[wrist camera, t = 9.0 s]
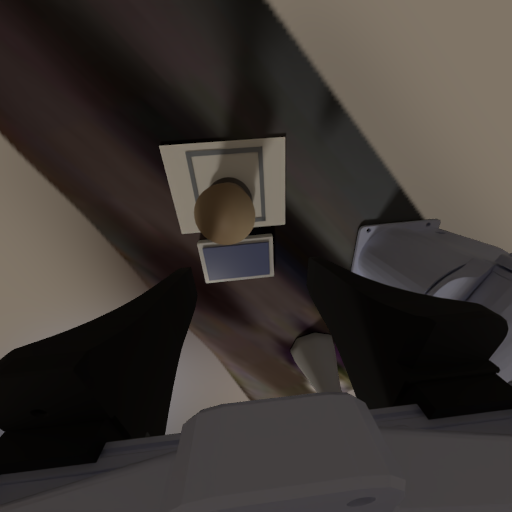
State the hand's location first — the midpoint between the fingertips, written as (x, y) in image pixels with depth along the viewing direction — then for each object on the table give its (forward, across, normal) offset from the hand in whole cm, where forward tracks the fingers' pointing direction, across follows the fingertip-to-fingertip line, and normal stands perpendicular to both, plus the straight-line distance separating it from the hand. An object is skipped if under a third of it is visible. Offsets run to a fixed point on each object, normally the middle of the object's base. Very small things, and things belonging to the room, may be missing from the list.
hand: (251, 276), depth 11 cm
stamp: (+9, +2, -3) cm, 10 cm away
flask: (+10, -9, +21) cm, 25 cm away
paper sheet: (+10, +1, -4) cm, 11 cm away
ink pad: (+10, +1, +3) cm, 10 cm away
